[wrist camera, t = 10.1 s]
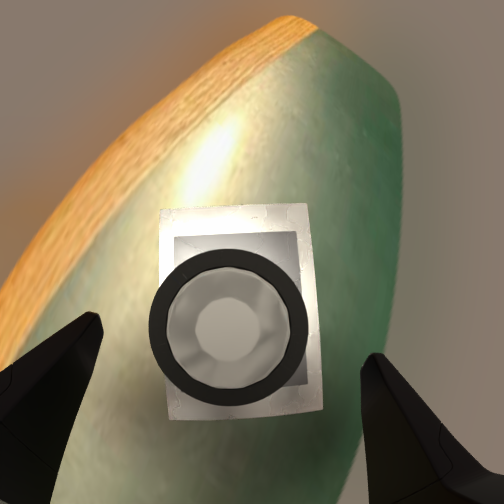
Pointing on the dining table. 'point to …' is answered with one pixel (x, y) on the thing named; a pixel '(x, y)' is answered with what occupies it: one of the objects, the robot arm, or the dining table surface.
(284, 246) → the mounting plate
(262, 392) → the push button
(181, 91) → the dining table surface
